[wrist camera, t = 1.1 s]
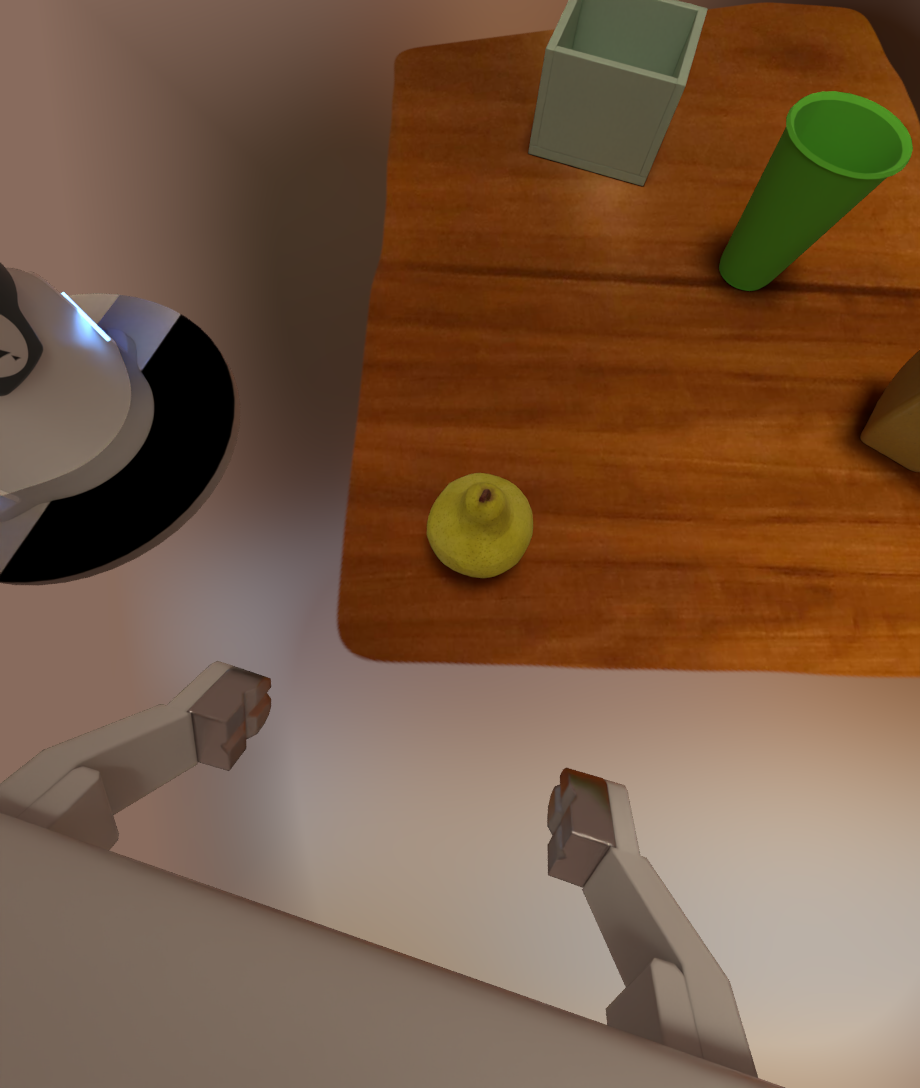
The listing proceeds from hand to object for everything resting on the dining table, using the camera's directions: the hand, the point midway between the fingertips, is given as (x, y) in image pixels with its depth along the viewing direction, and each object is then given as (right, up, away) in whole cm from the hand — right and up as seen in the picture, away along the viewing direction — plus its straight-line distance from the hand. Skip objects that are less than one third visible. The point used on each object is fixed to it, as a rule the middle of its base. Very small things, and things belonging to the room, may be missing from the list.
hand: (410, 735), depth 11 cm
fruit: (+3, +5, +20) cm, 21 cm away
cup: (+29, +32, +29) cm, 52 cm away
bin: (+17, +50, +34) cm, 63 cm away
